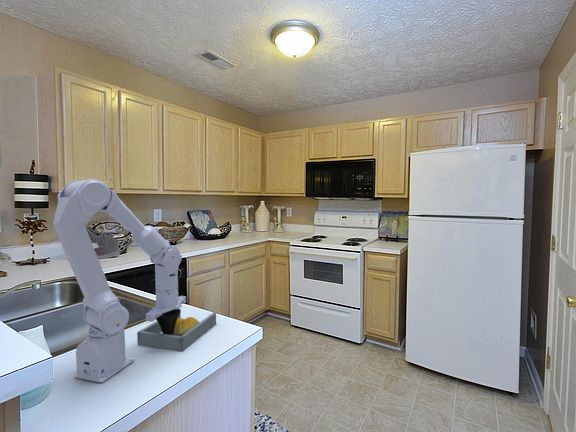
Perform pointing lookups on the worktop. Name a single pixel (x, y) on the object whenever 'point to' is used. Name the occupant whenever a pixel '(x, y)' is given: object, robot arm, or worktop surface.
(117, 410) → the worktop surface
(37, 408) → the worktop surface
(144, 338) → the open-side box
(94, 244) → the coffee cup
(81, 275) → the robot arm
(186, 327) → the bread roll
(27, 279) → the worktop surface
